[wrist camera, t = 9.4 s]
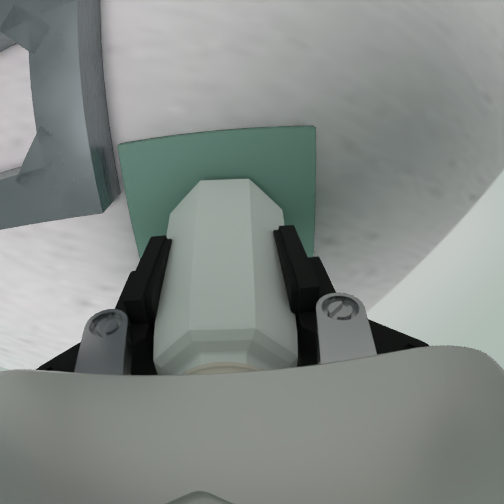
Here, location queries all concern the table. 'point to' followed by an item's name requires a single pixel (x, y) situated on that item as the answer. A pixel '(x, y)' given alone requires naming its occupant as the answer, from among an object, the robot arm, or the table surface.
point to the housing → (60, 114)
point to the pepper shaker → (224, 285)
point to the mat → (220, 173)
